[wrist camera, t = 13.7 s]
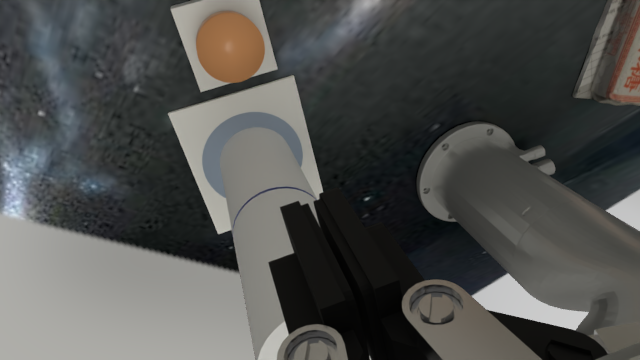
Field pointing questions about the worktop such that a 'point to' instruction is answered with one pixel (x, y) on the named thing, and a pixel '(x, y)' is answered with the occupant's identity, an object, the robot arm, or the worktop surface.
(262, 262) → the cylindrical container
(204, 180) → the white flat plate
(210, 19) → the button
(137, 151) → the worktop surface
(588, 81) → the packaged product
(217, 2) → the button housing
